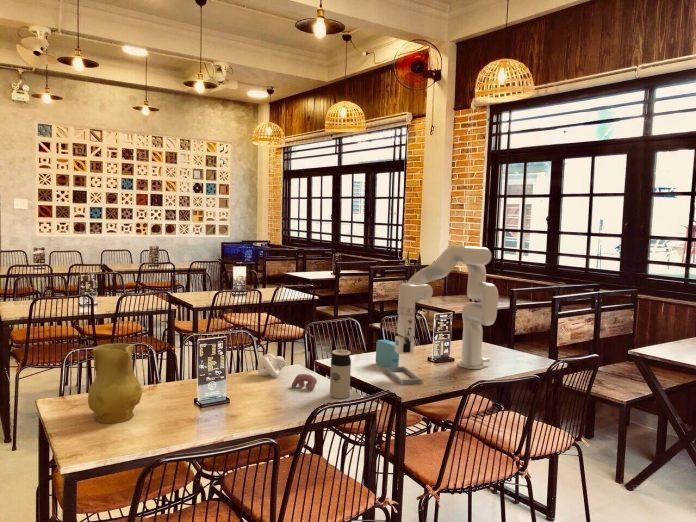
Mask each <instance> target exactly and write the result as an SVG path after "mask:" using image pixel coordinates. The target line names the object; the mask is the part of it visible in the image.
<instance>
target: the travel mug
mask: <svg viewBox="0 0 696 522" xmlns="http://www.w3.org/2000/svg"><path fill="white" fill-rule="evenodd" d="M331 353H332V357H331V359H330V375H329V376H330V378H329V379H330V381H329V396H330V397H332V398H333V399H339V398H341V399H342V398H343V399H346V398H348V397H350V396H351V395H350V394H351V393H350V392H351V373H352V372H351V371H352V368H351V367H352V359H351V354H352V353H351V351H350V350H346V349H334V350H332V352H331ZM341 399H340V400H341Z"/></svg>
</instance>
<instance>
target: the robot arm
mask: <svg viewBox="0 0 696 522" xmlns="http://www.w3.org/2000/svg"><path fill="white" fill-rule="evenodd" d="M491 261H492V252H491V250H490V249H489V248H487V247H485V246H475V245H474V246H473V245H462V244H461V245H458V244H453V245H452V244H451V245H450V246H447V247H446V249H445V250H444V251H443V252H442V253H441V254H440V255H439V256H438V258H436V259H435V260H434V262H433V263H431V264H430V265H428V266H426V267H423V268H422V269H420V270H419V271H417V272H415V273H414V274H413V275H412V276H411V277H409V279H408V281H407V282H405V283H404V282H402V283H400V284H399V286H398V287H399V288H398V302H397V304H398V305H397V314H398V316H397V326H396V330H397V331H396V332H397V336H403V337H404V343H405V344H404V345H403V352H404V353H407V352H410V346H411V341H412V339H413V338H415V334H416V333H415V331H416V324H415V321H416V320H415V311H416V300H420V301H427V300H429V299H430V298H432V296H433V294H434V290H433V288H432V286H431V285H430V284H428V283H429V282H432V281H435V280H436V281H437V280H440V279H444V278H446V277H447V276H448V275H449V274H450V272H452V271H453V269H454V268H455V267H456V266H457V265H458V264H461V265H462V264H463V265H465V266H466V267H467V271H468V273H467V276H468V277H467V288H466V294H467V298H468V299H471V300H473V301H475V302H468V303H465V305H464V306H463V308H462V310H461V316H462V323H463V325H462V327H463V328H462V329H463V330H462V343H461V357H460V358H461V360H459V361H458V362H457V365H458V366H459V367H461V368H463V369H469V370H481V369H483V368H484V367H485V364H484V363H490V362H491V361H490V360H491V359H490V358H489V357H487V358H486V357H482V350H483V334H484V333H483V332H484V330H483V326H486V327H487V326H488V327H489V326H492V325H494V323H495V321H496V319H497V315H498V305H499V291H498V288H497V286H496V285H495V284H493V283H491V282H490V283H489V282H487V281H486V280H487V270H486V265H488V264H489V263H490V262H491ZM476 301H477V302H481V303H477V302H476ZM406 336H409V337H406ZM406 338H408V339H407V340H406Z"/></svg>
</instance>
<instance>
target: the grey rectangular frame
mask: <svg viewBox="0 0 696 522" xmlns="http://www.w3.org/2000/svg"><path fill="white" fill-rule="evenodd" d="M383 367H384V366H383ZM383 372H384V373H385V374H387V375H388V376H389V377H391V378H392V379H393V380H394V381H395V382H396V383H398V384H399V385H420V384H424V378H423V377H421V376H419V375H418V374H417V373H415V372H414V371H412V370H411V369H409V367H407V366H405V365H404V366H398V367H384V371H383ZM395 372H396V373H397V372H404V373H406V375H408V376H410V377H411V378H401V377H400V376H398V375H397V374H396V373H395Z"/></svg>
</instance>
